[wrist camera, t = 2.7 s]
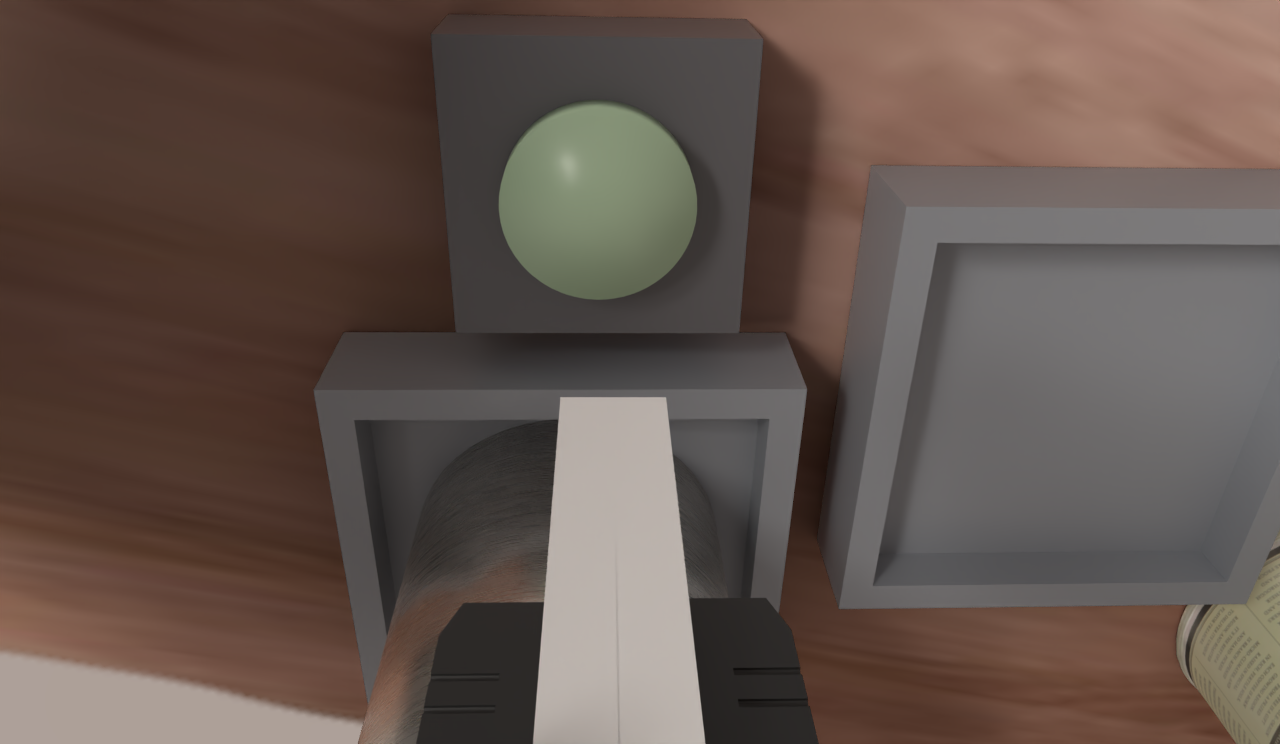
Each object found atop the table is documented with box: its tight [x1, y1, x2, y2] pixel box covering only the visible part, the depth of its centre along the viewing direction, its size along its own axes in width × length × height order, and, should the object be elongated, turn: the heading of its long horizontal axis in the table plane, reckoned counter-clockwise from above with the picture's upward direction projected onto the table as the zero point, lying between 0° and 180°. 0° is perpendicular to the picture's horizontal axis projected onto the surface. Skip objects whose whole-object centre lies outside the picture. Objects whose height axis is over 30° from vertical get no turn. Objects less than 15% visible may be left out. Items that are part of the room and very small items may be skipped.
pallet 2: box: [817, 165, 1280, 609], centre depth 30 cm, size 14×14×4 cm
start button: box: [431, 14, 763, 333], centre depth 25 cm, size 8×8×4 cm
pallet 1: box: [314, 332, 807, 704], centre depth 32 cm, size 14×14×4 cm
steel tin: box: [358, 420, 729, 744], centre depth 25 cm, size 10×10×14 cm
